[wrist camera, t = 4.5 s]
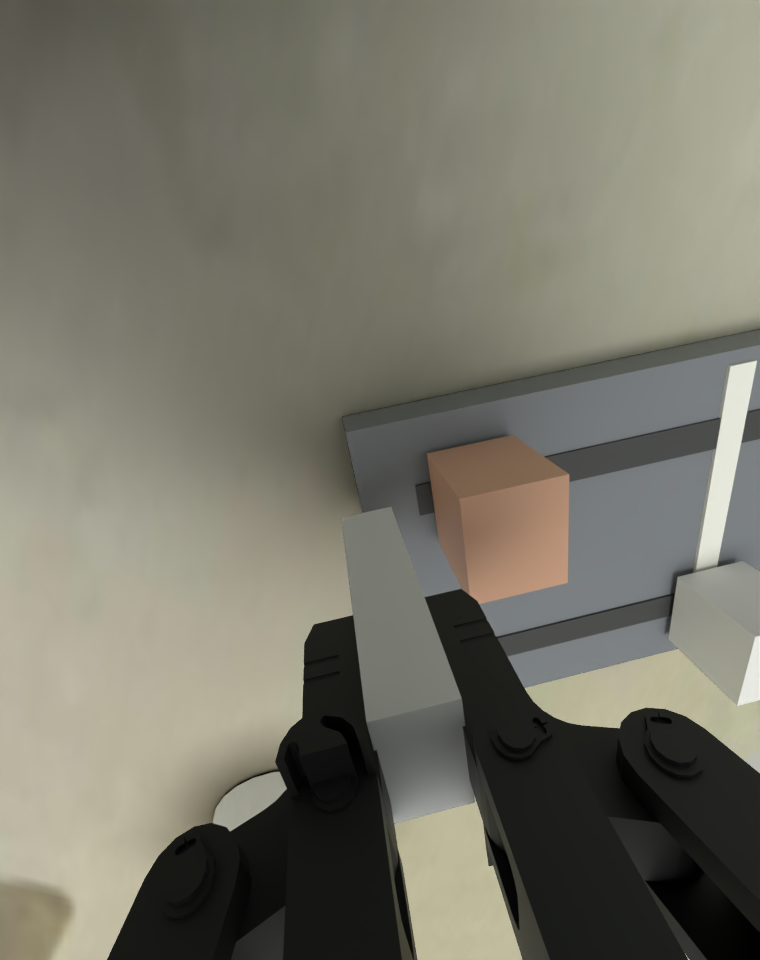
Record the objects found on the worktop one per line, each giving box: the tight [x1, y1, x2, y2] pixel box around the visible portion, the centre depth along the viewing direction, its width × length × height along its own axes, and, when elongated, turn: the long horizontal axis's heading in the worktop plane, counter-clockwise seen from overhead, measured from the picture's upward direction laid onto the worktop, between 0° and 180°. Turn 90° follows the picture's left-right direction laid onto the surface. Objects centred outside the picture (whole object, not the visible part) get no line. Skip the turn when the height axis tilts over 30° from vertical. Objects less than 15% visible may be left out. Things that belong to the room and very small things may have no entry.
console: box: [342, 329, 760, 688], centre depth 18 cm, size 14×20×2 cm
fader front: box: [427, 435, 569, 604], centre depth 13 cm, size 4×3×4 cm
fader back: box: [668, 561, 760, 706], centre depth 17 cm, size 4×3×4 cm
